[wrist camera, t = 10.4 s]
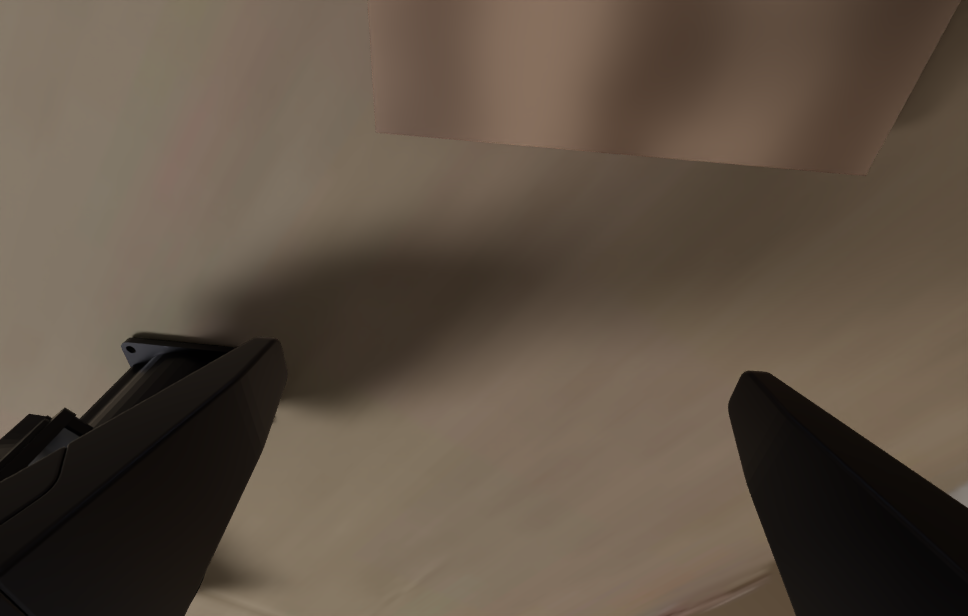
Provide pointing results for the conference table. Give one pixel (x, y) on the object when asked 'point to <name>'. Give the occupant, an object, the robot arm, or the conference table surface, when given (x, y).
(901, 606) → the robot arm
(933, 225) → the conference table surface
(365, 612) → the conference table surface
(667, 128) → the walnut base
